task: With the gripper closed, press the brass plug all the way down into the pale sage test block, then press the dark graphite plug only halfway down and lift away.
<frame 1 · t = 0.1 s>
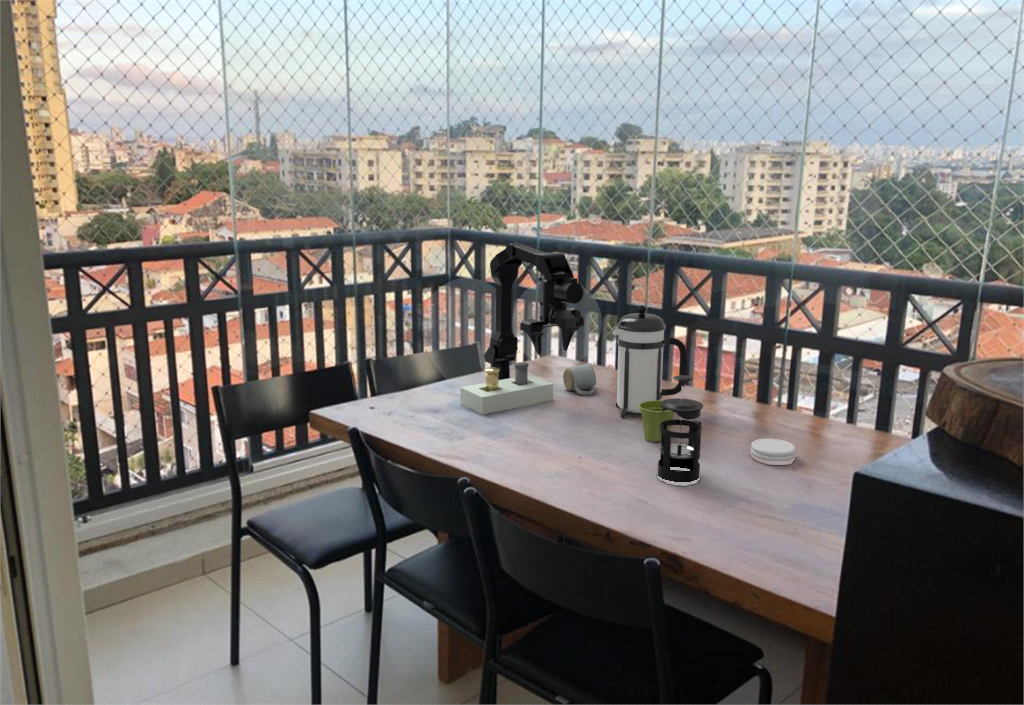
hand: (552, 352, 225), 15 cm above the table, tool pointing down, fingers open, 9 cm apart
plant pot: (656, 439, 197), on the table
coffee press: (642, 412, 218), on the table
test block: (507, 402, 228), on the table
french press: (679, 478, 173), on the table
ceramic mug: (581, 391, 239), on the table
brass plug: (492, 382, 224), point 7 cm above the table, slide at 0.0 cm
coaster: (772, 459, 184), on the table
graphite plug: (521, 376, 229), point 7 cm above the table, slide at 0.0 cm
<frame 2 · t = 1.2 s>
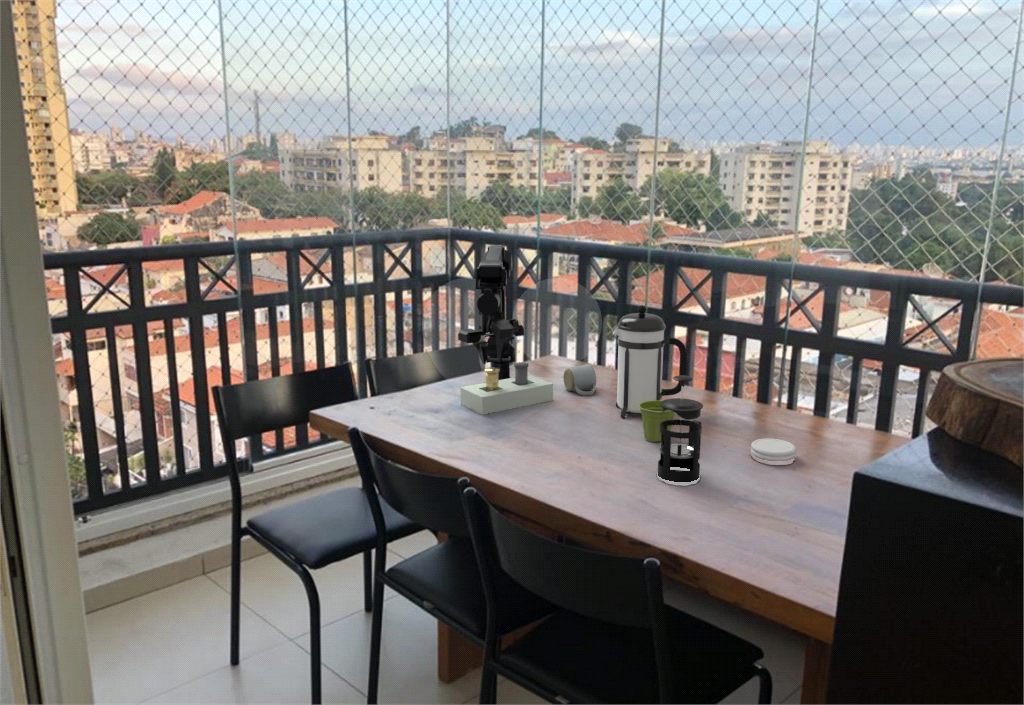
hand: (492, 362, 223), 13 cm above the table, tool pointing down, fingers open, 5 cm apart
nothing on the table moved.
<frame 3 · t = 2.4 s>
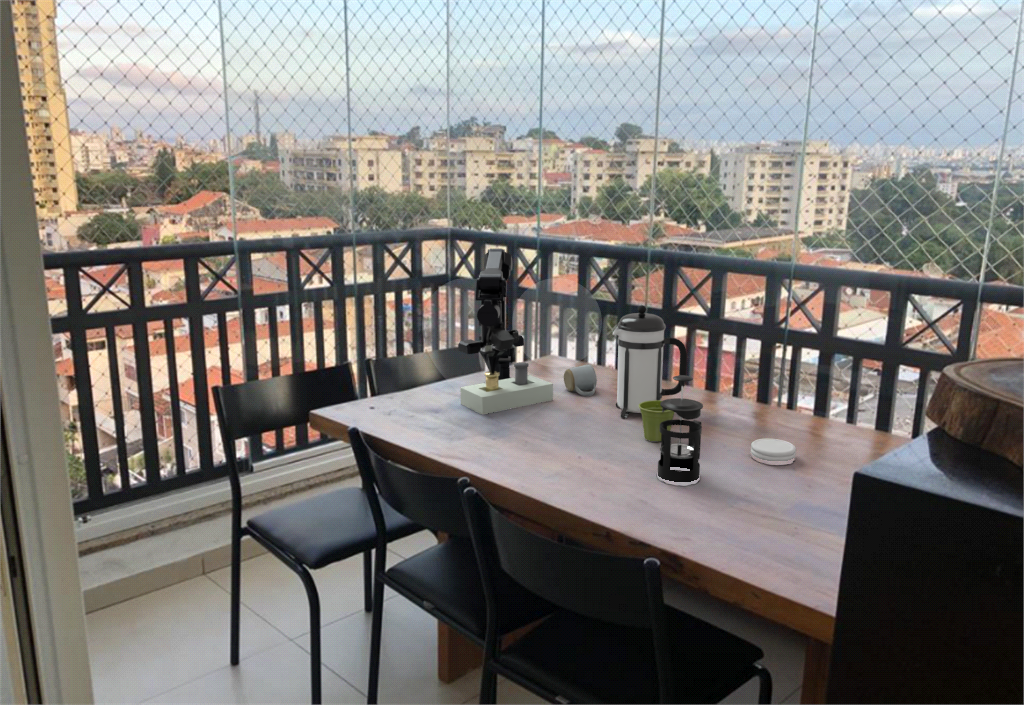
hand: (492, 373, 223), 9 cm above the table, tool pointing down, fingers closed, pressing on brass plug
brass plug: (492, 385, 224), point 6 cm above the table, slide at 1.1 cm, touching gripper
everything else where it was.
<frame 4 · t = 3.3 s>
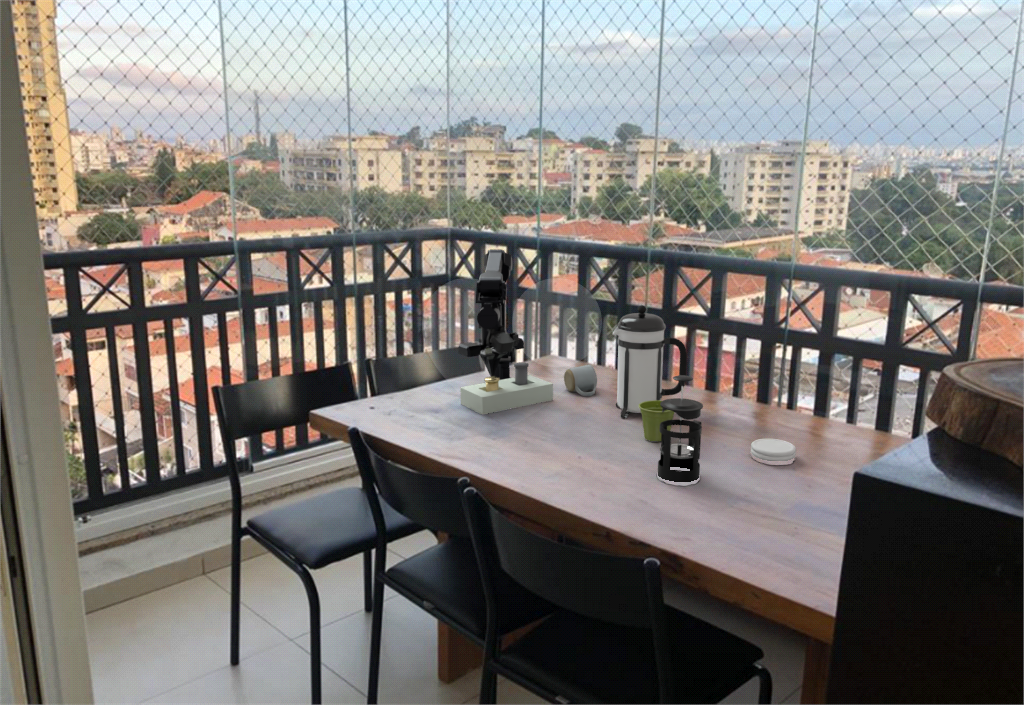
hand: (492, 375, 223), 9 cm above the table, tool pointing down, fingers closed
brass plug: (492, 391, 224), point 4 cm above the table, slide at 2.7 cm
everything else where it was.
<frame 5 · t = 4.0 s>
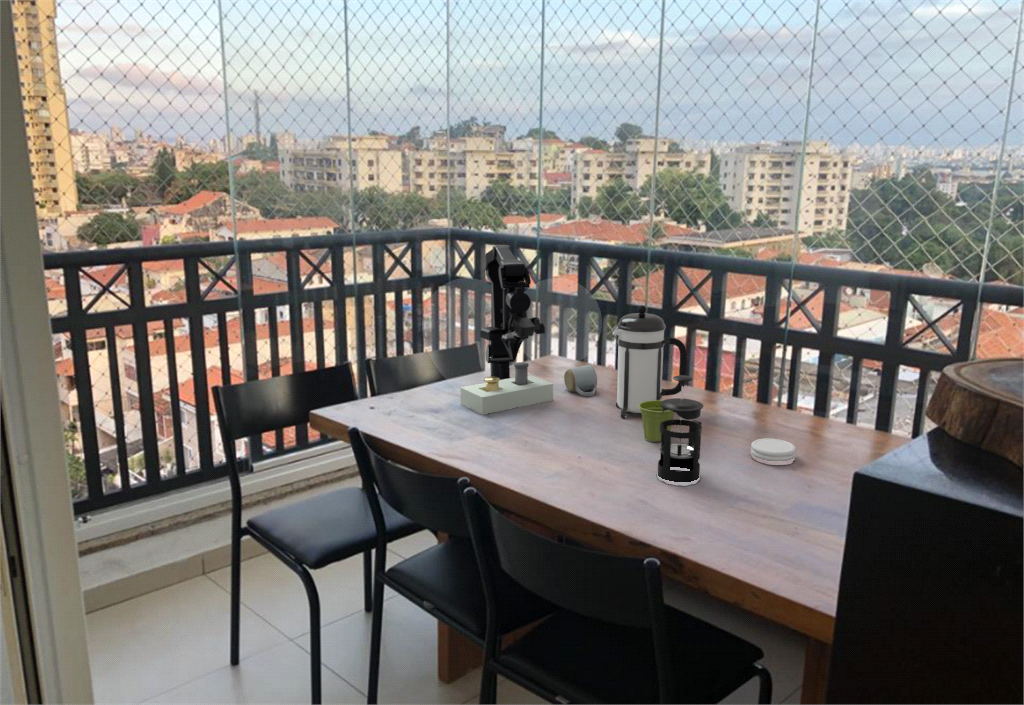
hand: (513, 359, 227), 12 cm above the table, tool pointing down, fingers closed
nothing on the table moved.
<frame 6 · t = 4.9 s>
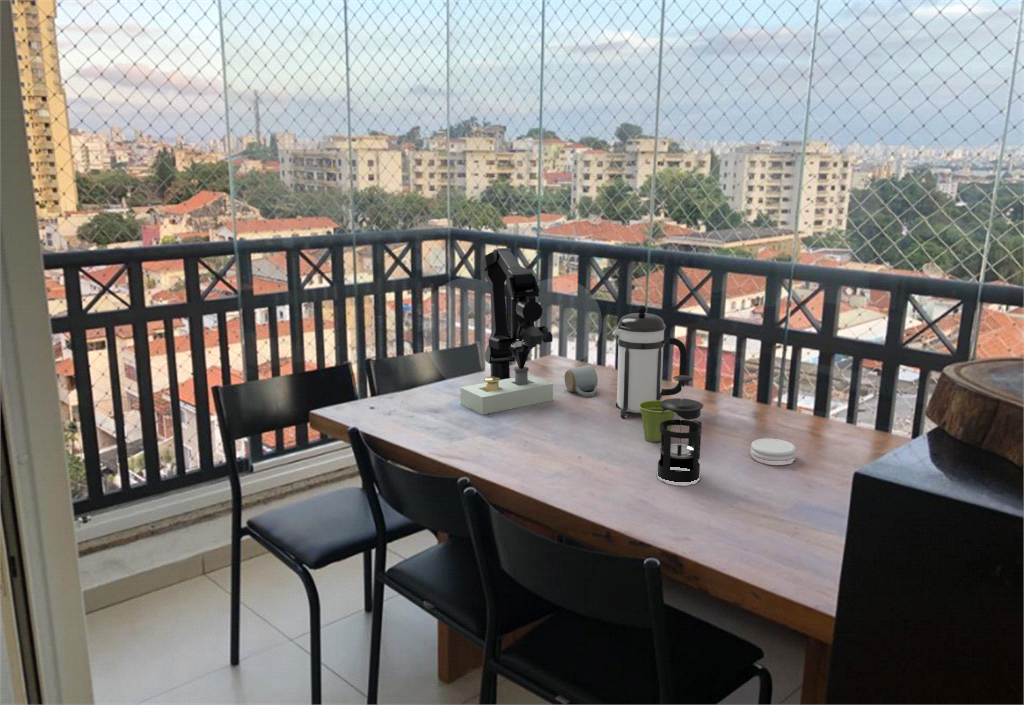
hand: (521, 368, 229), 9 cm above the table, tool pointing down, fingers closed, pressing on graphite plug
graphite plug: (521, 380, 229), point 6 cm above the table, slide at 1.3 cm, touching gripper
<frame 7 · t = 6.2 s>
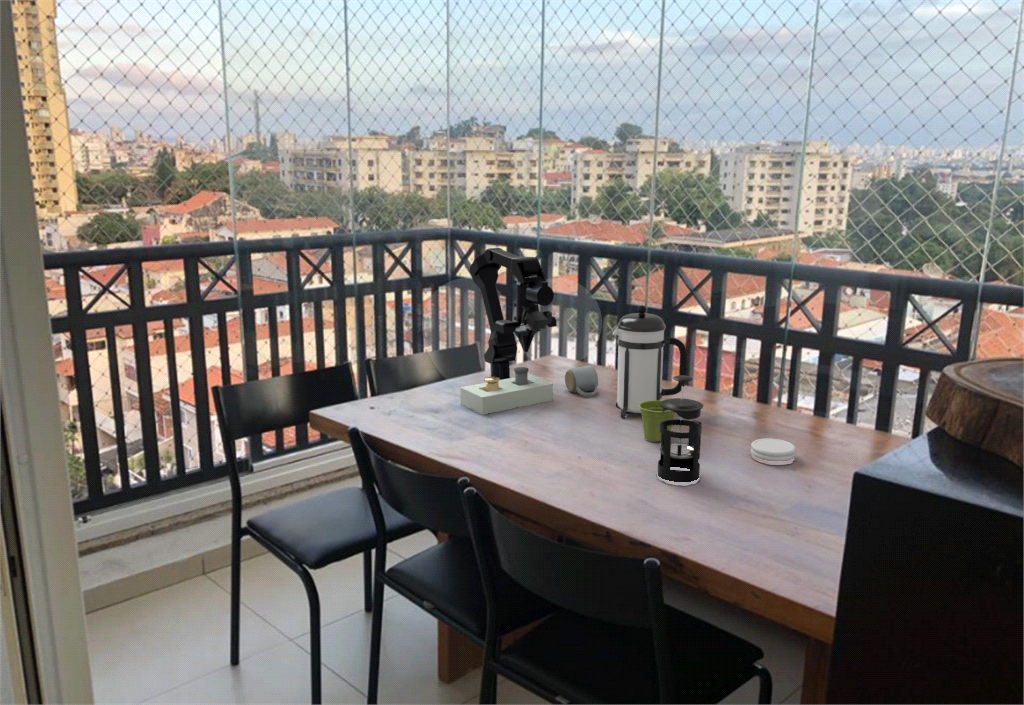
hand: (525, 351, 236), 12 cm above the table, tool pointing down, fingers closed
graphite plug: (521, 381, 230), point 5 cm above the table, slide at 1.4 cm
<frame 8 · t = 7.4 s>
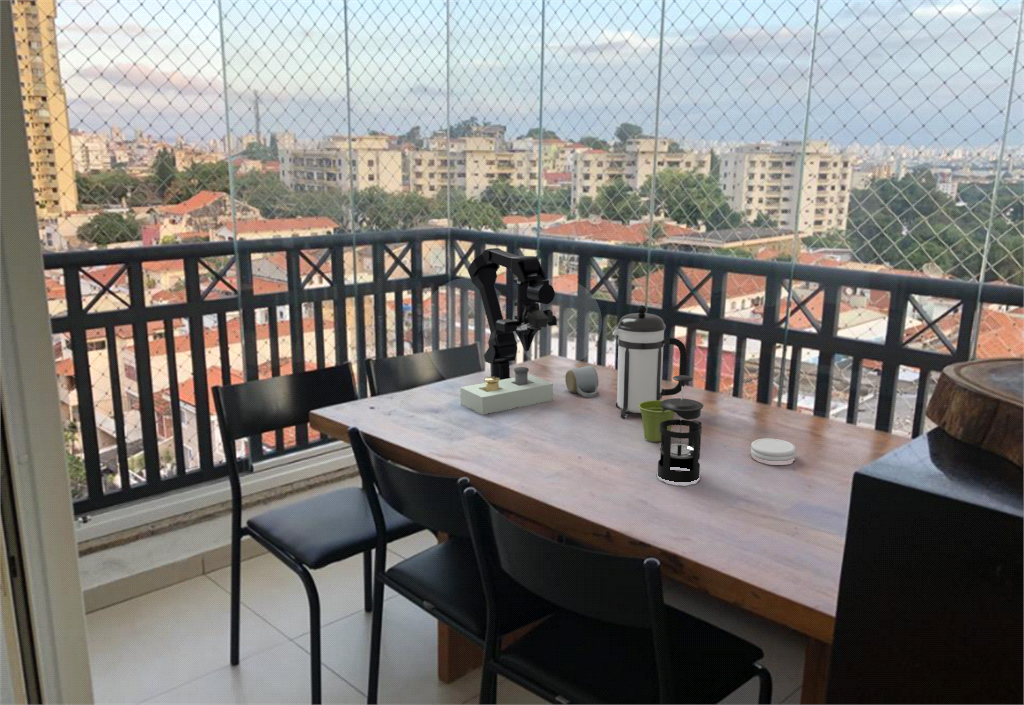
hand: (526, 350, 236), 13 cm above the table, tool pointing down, fingers closed
at the end: brass plug slide at 2.7 cm; graphite plug slide at 1.4 cm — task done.
